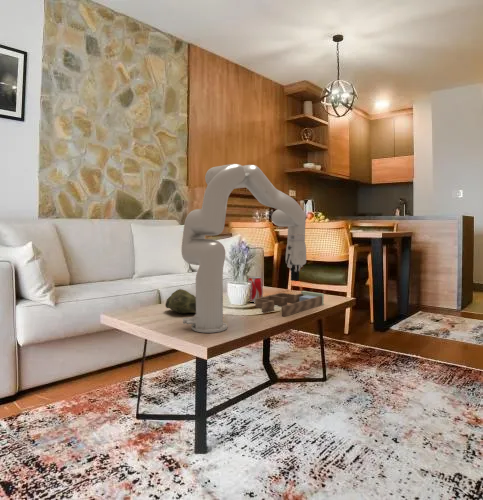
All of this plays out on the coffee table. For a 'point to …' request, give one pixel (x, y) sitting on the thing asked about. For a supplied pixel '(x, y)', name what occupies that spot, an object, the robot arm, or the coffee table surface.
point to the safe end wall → (313, 295)
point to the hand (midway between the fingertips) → (294, 280)
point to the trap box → (282, 300)
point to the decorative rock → (181, 302)
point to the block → (305, 297)
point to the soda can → (255, 287)
